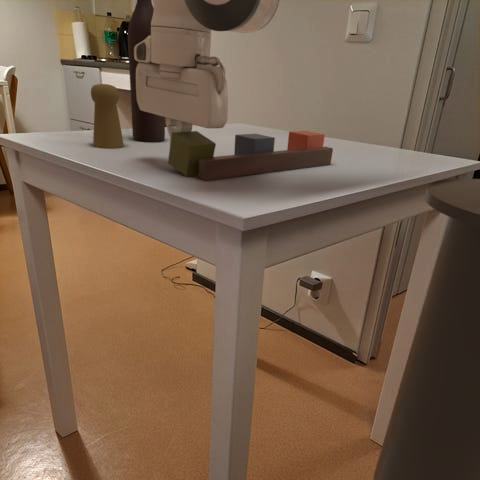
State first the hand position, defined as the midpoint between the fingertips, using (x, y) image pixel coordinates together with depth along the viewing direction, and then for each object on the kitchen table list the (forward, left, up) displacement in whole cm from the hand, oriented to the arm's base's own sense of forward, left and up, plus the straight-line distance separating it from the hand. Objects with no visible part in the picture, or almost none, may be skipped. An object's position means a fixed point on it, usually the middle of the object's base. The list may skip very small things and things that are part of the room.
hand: (178, 149), depth 75 cm
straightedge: (-8, -14, -3) cm, 17 cm away
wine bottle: (+28, -12, -3) cm, 31 cm away
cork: (+24, 0, -3) cm, 24 cm away
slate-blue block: (-4, -14, -3) cm, 15 cm away
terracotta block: (-4, -28, -3) cm, 29 cm away
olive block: (-3, 0, -3) cm, 4 cm away
